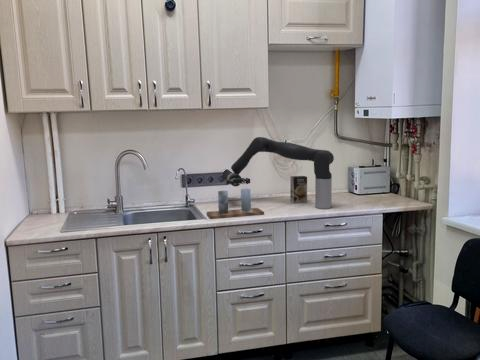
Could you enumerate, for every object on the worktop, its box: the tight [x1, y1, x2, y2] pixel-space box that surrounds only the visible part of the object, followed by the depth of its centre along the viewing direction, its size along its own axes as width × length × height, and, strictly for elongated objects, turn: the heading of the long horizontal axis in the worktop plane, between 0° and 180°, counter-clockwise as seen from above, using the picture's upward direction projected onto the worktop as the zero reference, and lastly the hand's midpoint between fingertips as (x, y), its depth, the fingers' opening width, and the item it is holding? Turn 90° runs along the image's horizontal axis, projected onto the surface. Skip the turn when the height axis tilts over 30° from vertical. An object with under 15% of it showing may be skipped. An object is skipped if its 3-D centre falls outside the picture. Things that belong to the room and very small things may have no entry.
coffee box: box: [289, 175, 308, 204], centre depth 272 cm, size 9×6×16 cm
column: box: [240, 188, 252, 212], centre depth 243 cm, size 5×5×12 cm
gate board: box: [206, 190, 265, 220], centre depth 242 cm, size 30×12×14 cm, turn 104°
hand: (240, 182), depth 253 cm, fingers open, 8 cm apart
